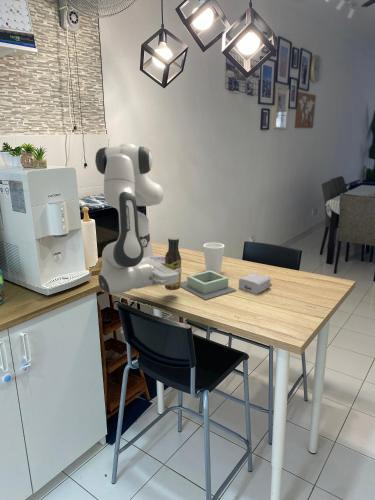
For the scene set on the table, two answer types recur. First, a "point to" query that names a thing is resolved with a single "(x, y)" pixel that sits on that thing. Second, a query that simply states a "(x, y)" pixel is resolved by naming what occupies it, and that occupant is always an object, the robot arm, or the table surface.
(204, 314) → the table surface
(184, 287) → the mat
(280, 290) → the table surface
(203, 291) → the bottle holder
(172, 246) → the sauce bottle
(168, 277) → the robot arm
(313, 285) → the table surface
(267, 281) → the charger
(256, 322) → the table surface
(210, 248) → the foam cup
